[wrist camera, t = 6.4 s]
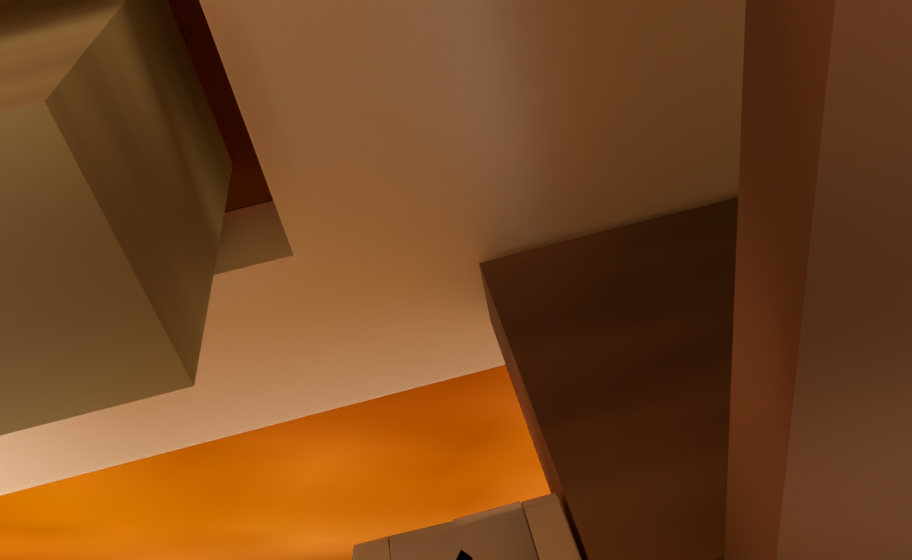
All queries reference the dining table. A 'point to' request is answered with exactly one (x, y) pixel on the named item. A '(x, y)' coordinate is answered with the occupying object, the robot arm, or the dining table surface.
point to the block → (102, 207)
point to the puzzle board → (418, 193)
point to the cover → (742, 323)
